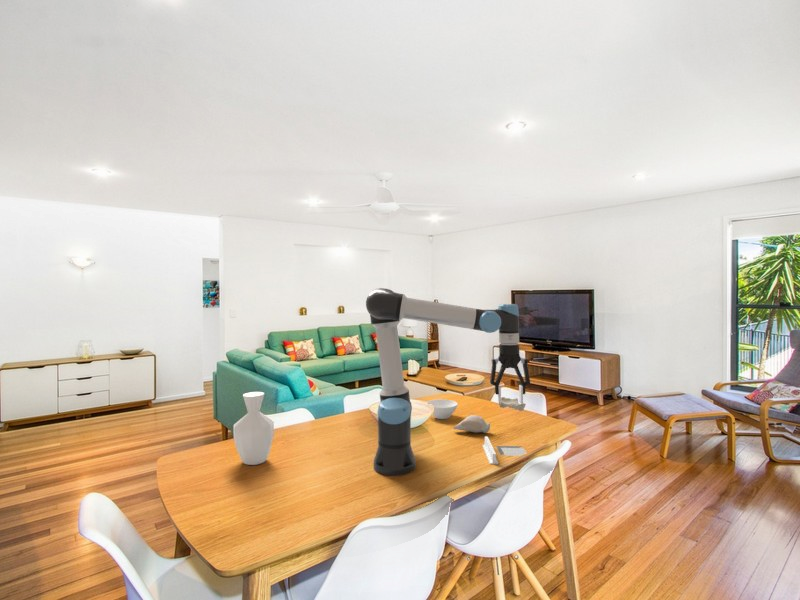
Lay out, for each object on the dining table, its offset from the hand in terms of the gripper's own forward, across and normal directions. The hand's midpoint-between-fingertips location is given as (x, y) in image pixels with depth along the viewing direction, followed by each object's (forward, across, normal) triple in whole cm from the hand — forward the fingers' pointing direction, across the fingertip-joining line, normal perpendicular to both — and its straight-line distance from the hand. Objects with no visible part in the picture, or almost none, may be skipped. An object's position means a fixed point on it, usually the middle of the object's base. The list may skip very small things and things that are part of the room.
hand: (510, 402), depth 153 cm
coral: (+3, -3, +1) cm, 5 cm away
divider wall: (+20, -8, -2) cm, 22 cm away
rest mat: (+20, +2, +1) cm, 20 cm away
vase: (+19, -97, -12) cm, 100 cm away
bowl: (+20, -25, +46) cm, 56 cm away
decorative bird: (+21, -18, +22) cm, 35 cm away
